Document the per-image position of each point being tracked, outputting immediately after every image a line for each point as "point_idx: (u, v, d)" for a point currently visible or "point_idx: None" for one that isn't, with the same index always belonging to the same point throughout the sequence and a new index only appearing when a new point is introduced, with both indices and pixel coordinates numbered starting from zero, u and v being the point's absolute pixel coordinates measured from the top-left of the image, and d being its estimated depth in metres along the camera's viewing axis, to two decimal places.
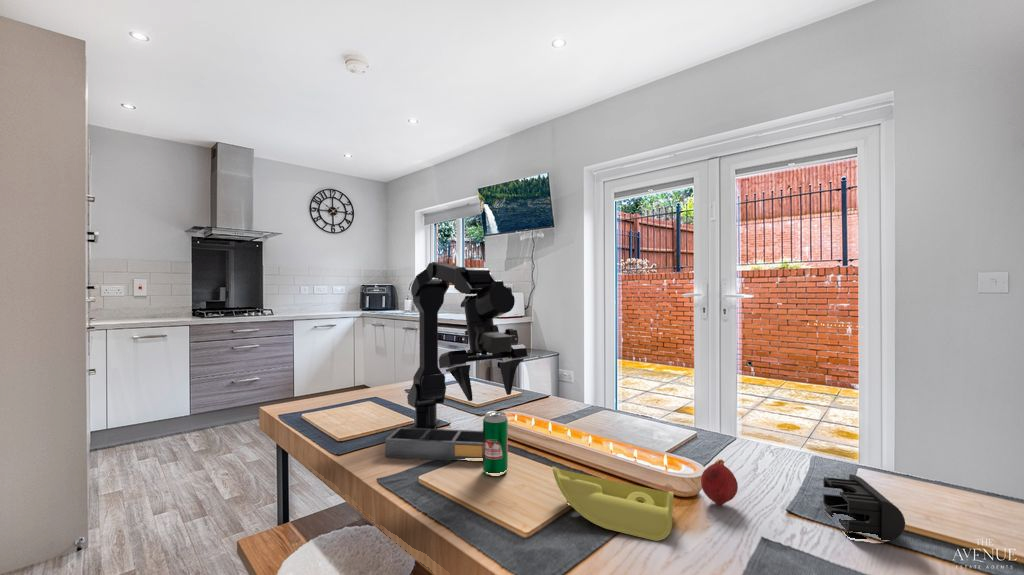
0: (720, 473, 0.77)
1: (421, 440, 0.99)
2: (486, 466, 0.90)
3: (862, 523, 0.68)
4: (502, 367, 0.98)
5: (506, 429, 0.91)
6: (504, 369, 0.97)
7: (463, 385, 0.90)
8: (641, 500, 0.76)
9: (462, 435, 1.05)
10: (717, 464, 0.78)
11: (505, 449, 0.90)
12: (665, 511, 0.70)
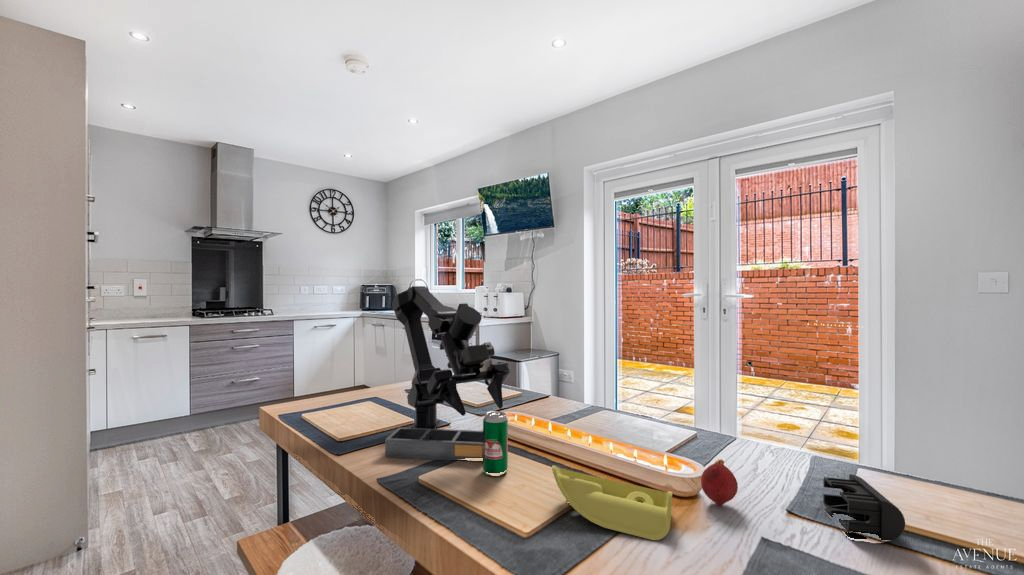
0: (720, 473, 0.77)
1: (421, 440, 0.99)
2: (486, 466, 0.90)
3: (862, 523, 0.68)
4: (490, 389, 1.03)
5: (506, 429, 0.91)
6: (492, 389, 1.02)
7: (454, 402, 0.94)
8: (640, 500, 0.76)
9: (462, 435, 1.05)
10: (717, 464, 0.78)
11: (505, 449, 0.90)
12: (664, 511, 0.70)
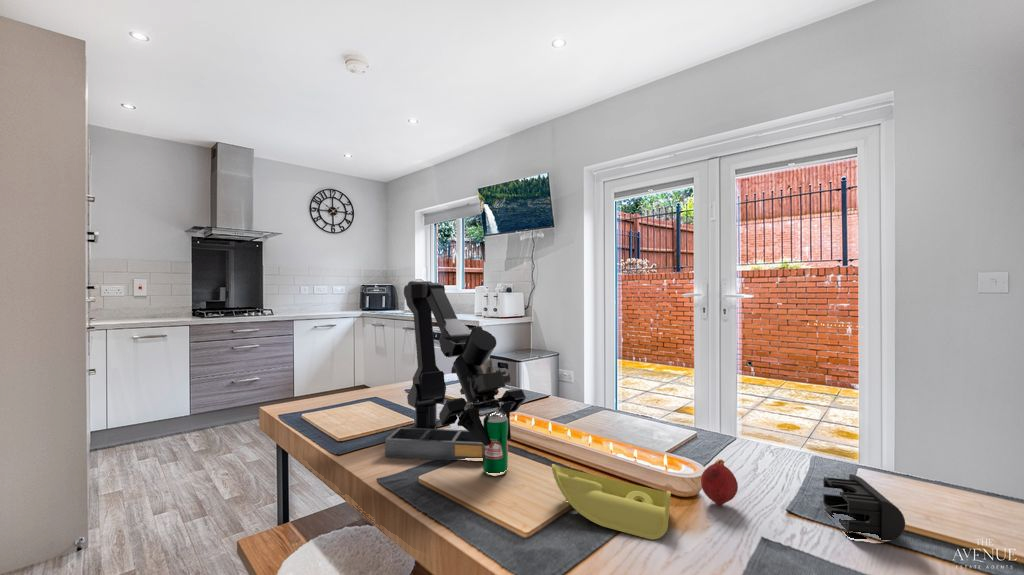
0: (720, 473, 0.77)
1: (421, 440, 0.99)
2: (486, 466, 0.90)
3: (862, 523, 0.68)
4: None
5: (506, 429, 0.91)
6: None
7: (477, 431, 0.90)
8: (640, 499, 0.76)
9: (462, 435, 1.05)
10: (717, 464, 0.78)
11: (505, 449, 0.90)
12: (662, 511, 0.70)
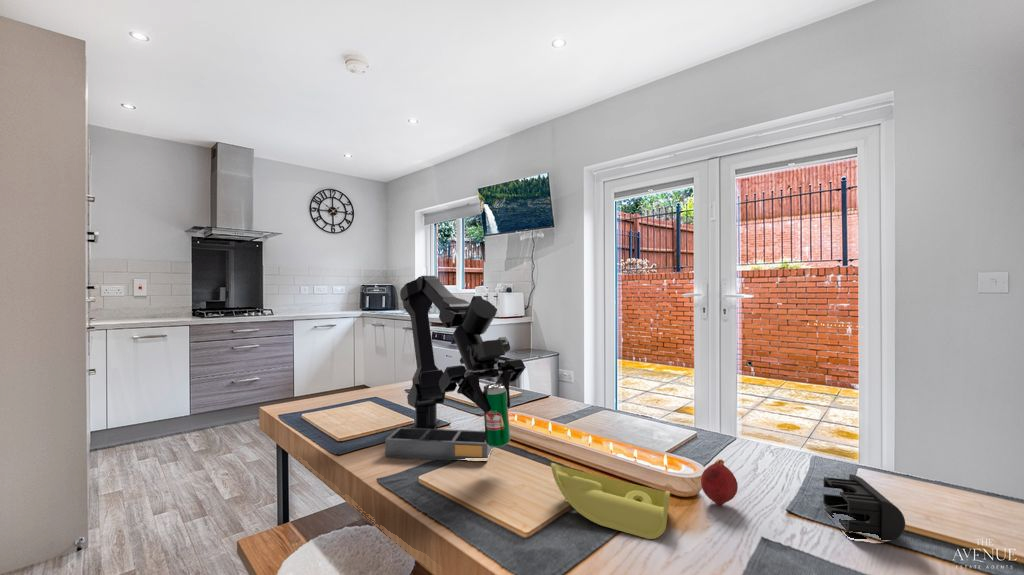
0: (720, 473, 0.77)
1: (421, 440, 0.99)
2: (489, 437, 0.91)
3: (862, 523, 0.68)
4: None
5: (506, 400, 0.91)
6: None
7: (477, 398, 0.91)
8: (639, 499, 0.76)
9: (462, 435, 1.05)
10: (717, 464, 0.78)
11: (506, 419, 0.91)
12: (661, 510, 0.70)
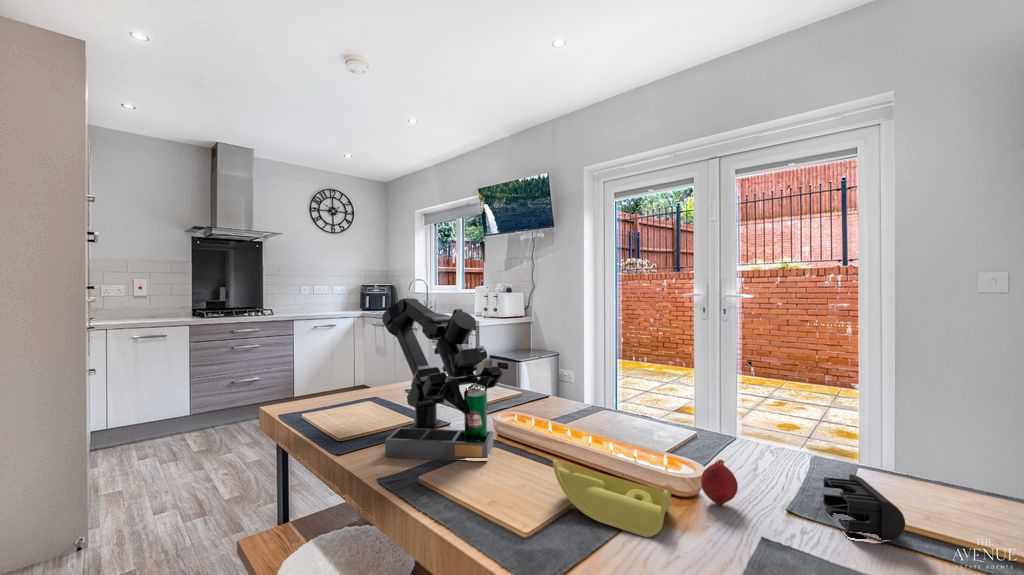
0: (720, 473, 0.77)
1: (421, 440, 0.99)
2: (467, 433, 1.00)
3: (862, 523, 0.68)
4: None
5: (485, 401, 1.00)
6: None
7: (457, 402, 1.00)
8: (640, 497, 0.77)
9: (462, 435, 1.05)
10: (717, 464, 0.78)
11: (484, 418, 1.00)
12: (658, 509, 0.71)
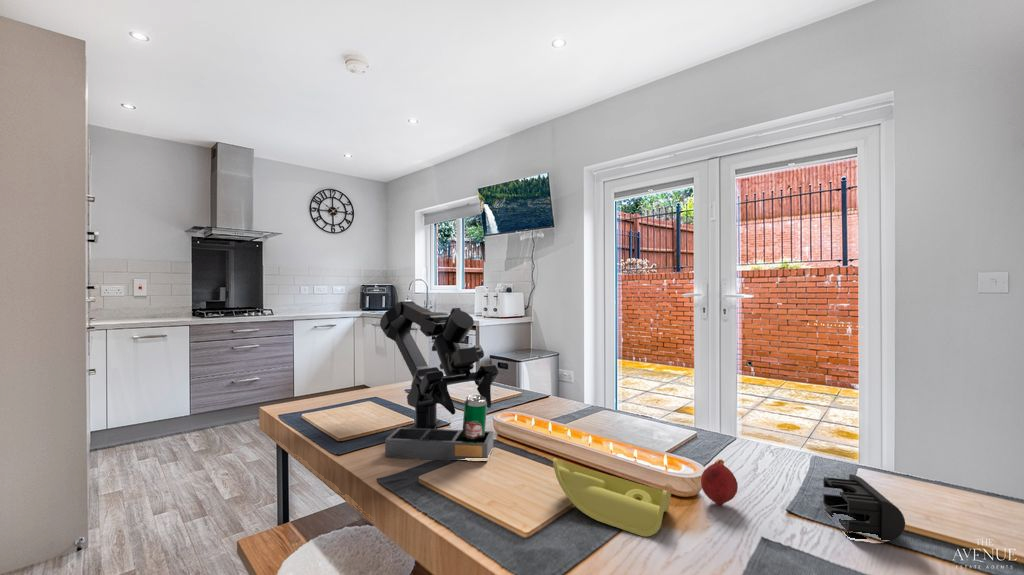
0: (720, 473, 0.77)
1: (421, 440, 0.99)
2: None
3: (862, 523, 0.68)
4: (479, 389, 1.09)
5: (486, 411, 1.00)
6: (481, 389, 1.08)
7: (445, 401, 1.00)
8: (639, 497, 0.77)
9: None
10: (717, 464, 0.78)
11: (484, 429, 1.00)
12: (657, 509, 0.71)
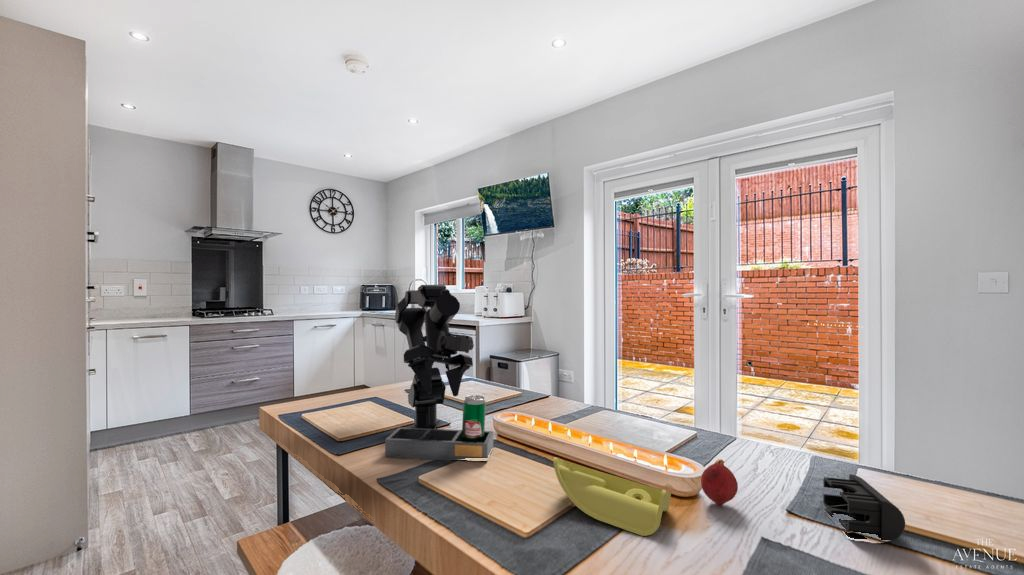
0: (720, 473, 0.77)
1: (421, 440, 0.99)
2: None
3: (862, 523, 0.68)
4: (449, 373, 1.11)
5: None
6: (452, 375, 1.11)
7: (424, 378, 1.01)
8: (639, 497, 0.77)
9: None
10: (717, 464, 0.78)
11: (483, 428, 1.01)
12: (656, 509, 0.71)
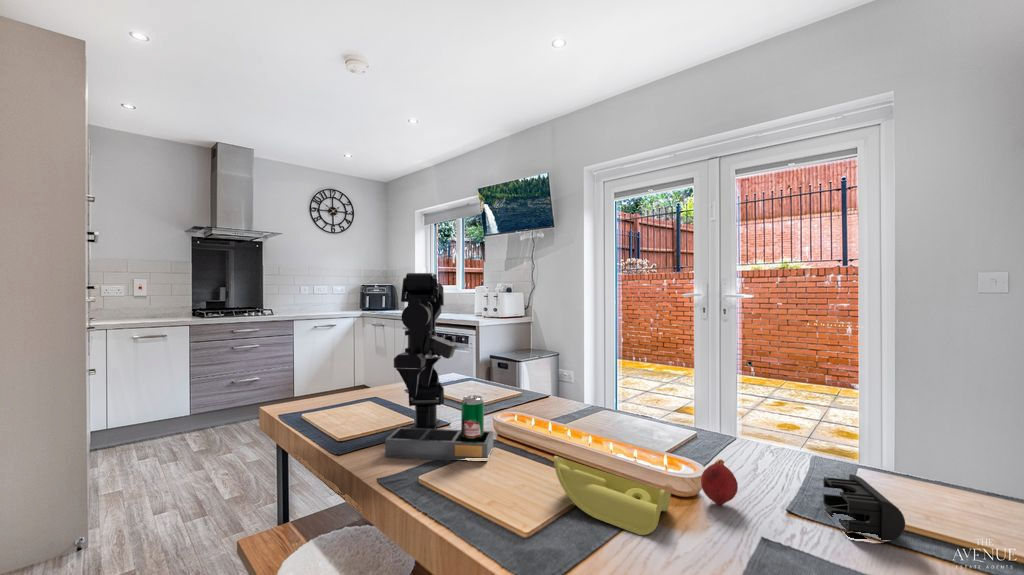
0: (720, 473, 0.77)
1: (421, 440, 0.99)
2: None
3: (862, 523, 0.68)
4: None
5: (483, 410, 1.01)
6: (423, 365, 1.11)
7: (411, 383, 1.01)
8: (639, 496, 0.77)
9: None
10: (717, 464, 0.78)
11: (482, 428, 1.01)
12: (654, 508, 0.71)
